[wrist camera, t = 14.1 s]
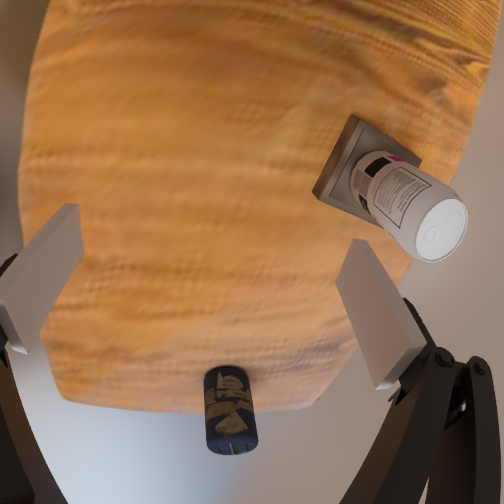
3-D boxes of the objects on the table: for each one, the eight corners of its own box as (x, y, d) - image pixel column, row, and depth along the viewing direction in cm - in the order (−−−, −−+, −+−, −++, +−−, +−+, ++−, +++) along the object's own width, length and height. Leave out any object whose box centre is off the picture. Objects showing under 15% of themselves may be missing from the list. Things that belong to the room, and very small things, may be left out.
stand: (350, 115, 36) (361, 119, 33) (411, 154, 40) (423, 160, 37) (311, 191, 41) (319, 201, 38) (374, 219, 45) (384, 229, 42)
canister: (250, 363, 59) (264, 442, 44) (245, 388, 64) (257, 459, 49) (203, 364, 57) (207, 445, 42) (203, 389, 62) (207, 462, 47)
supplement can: (397, 144, 35) (475, 185, 23) (400, 199, 40) (466, 254, 27) (344, 155, 35) (412, 202, 23) (351, 212, 40) (408, 277, 27)
